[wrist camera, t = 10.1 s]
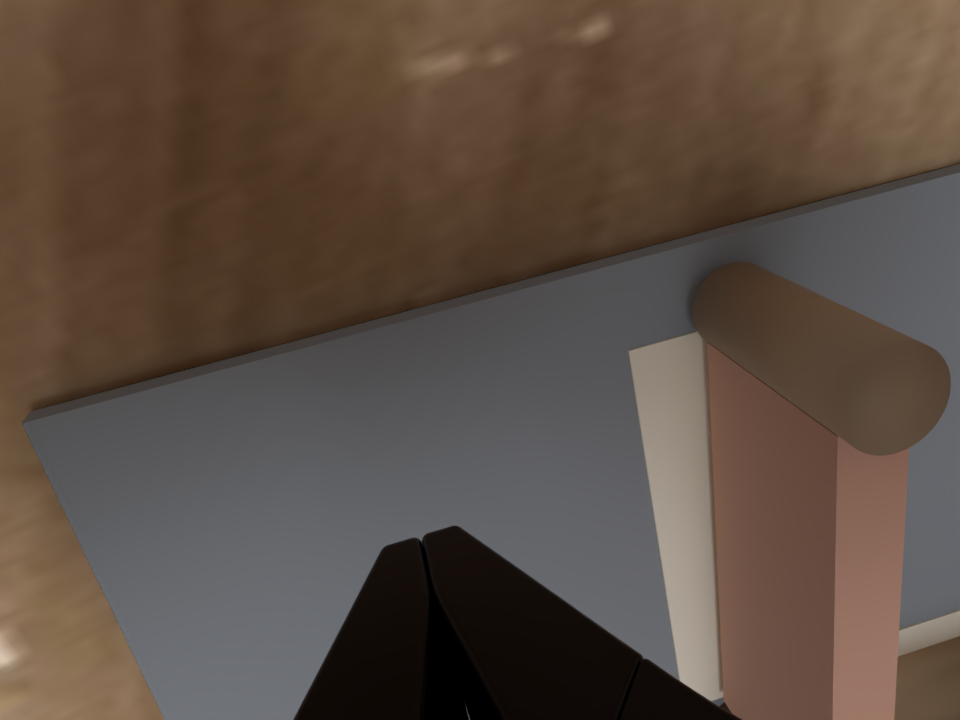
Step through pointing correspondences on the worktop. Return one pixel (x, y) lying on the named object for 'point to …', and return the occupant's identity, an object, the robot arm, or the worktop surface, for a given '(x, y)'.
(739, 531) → the terracotta panel
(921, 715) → the oak fence
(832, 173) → the worktop surface
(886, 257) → the mat
